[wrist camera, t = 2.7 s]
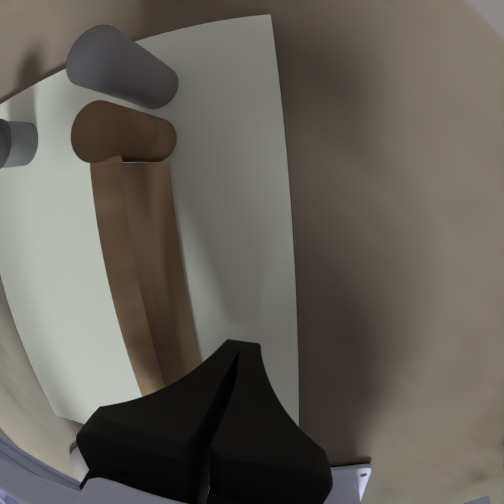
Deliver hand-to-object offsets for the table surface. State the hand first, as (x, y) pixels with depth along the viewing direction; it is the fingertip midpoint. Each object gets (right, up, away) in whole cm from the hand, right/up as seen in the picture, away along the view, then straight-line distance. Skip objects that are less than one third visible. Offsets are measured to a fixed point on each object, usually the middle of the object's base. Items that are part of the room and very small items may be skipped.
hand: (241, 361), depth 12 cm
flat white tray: (-7, +3, +3) cm, 8 cm away
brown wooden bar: (-3, +3, +1) cm, 4 cm away
